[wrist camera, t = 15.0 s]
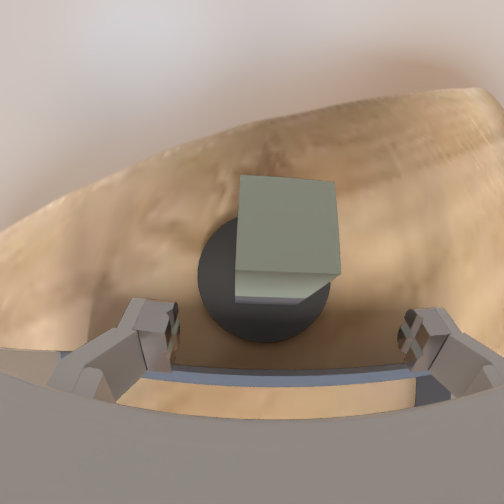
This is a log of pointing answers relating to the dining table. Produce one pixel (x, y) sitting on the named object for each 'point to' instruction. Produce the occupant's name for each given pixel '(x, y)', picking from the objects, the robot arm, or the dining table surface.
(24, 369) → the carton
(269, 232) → the box
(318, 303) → the coaster
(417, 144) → the dining table surface
